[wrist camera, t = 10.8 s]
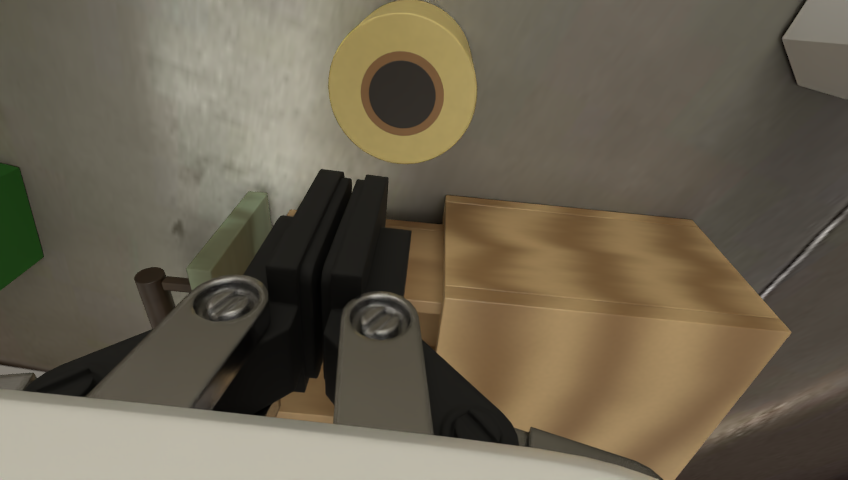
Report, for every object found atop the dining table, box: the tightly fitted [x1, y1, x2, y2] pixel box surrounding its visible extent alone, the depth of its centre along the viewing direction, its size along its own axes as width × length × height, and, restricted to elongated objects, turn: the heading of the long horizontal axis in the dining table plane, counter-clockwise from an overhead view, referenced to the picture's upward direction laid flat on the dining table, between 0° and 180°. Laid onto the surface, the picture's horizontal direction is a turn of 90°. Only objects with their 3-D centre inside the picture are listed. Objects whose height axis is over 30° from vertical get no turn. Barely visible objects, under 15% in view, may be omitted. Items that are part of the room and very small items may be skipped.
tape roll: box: [328, 0, 477, 164], centre depth 21 cm, size 7×7×5 cm
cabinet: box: [435, 195, 791, 480], centre depth 28 cm, size 16×14×10 cm
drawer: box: [134, 191, 444, 424], centre depth 27 cm, size 20×13×8 cm, turn 85°
